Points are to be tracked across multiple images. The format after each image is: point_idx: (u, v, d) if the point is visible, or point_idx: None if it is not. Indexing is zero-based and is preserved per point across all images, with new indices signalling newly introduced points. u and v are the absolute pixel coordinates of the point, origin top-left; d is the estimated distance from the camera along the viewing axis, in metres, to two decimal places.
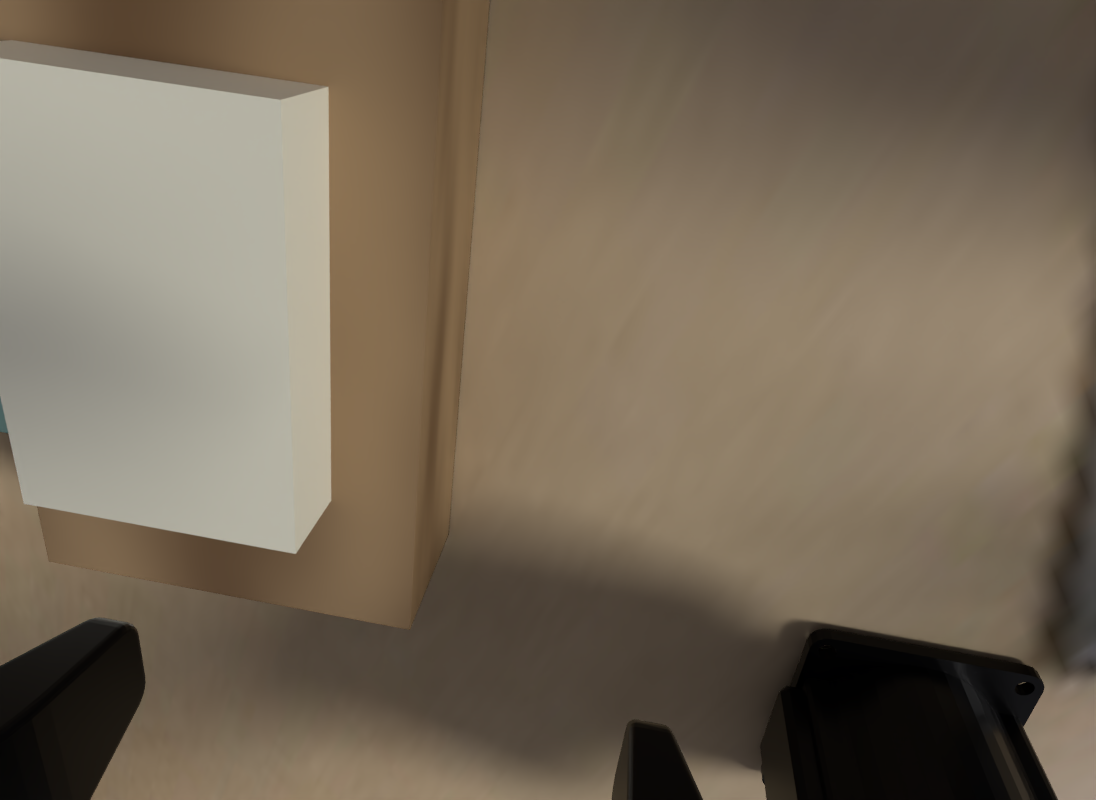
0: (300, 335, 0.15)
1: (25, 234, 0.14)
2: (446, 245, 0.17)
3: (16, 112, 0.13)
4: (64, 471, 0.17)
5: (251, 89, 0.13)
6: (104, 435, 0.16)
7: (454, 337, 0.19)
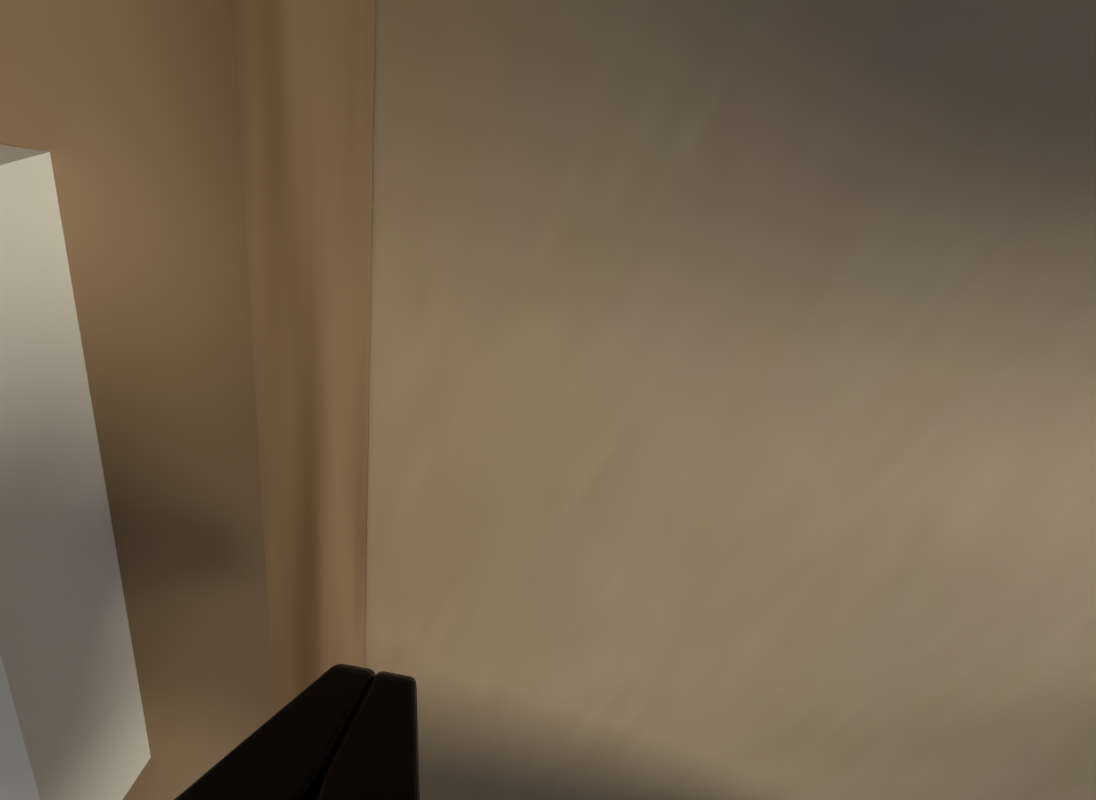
0: (21, 578, 0.09)
1: None
2: (305, 390, 0.11)
3: None
4: None
5: None
6: None
7: (344, 498, 0.13)
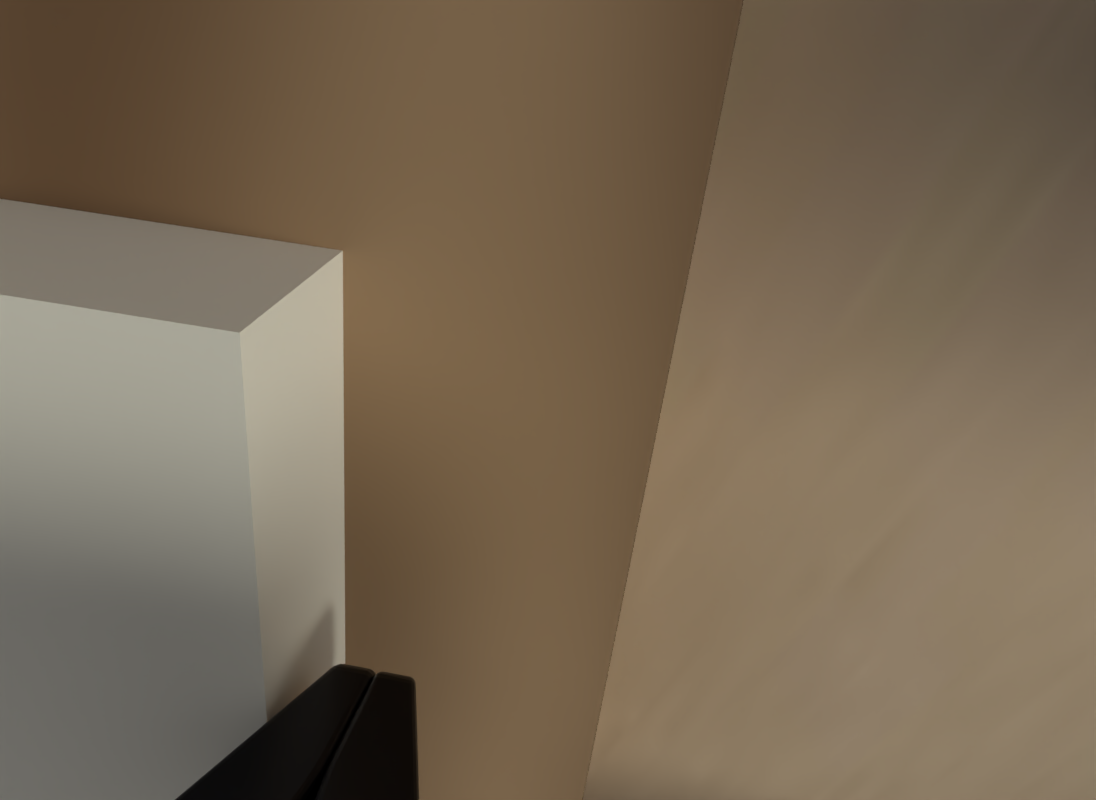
0: None
1: None
2: None
3: None
4: None
5: (180, 289, 0.06)
6: None
7: None
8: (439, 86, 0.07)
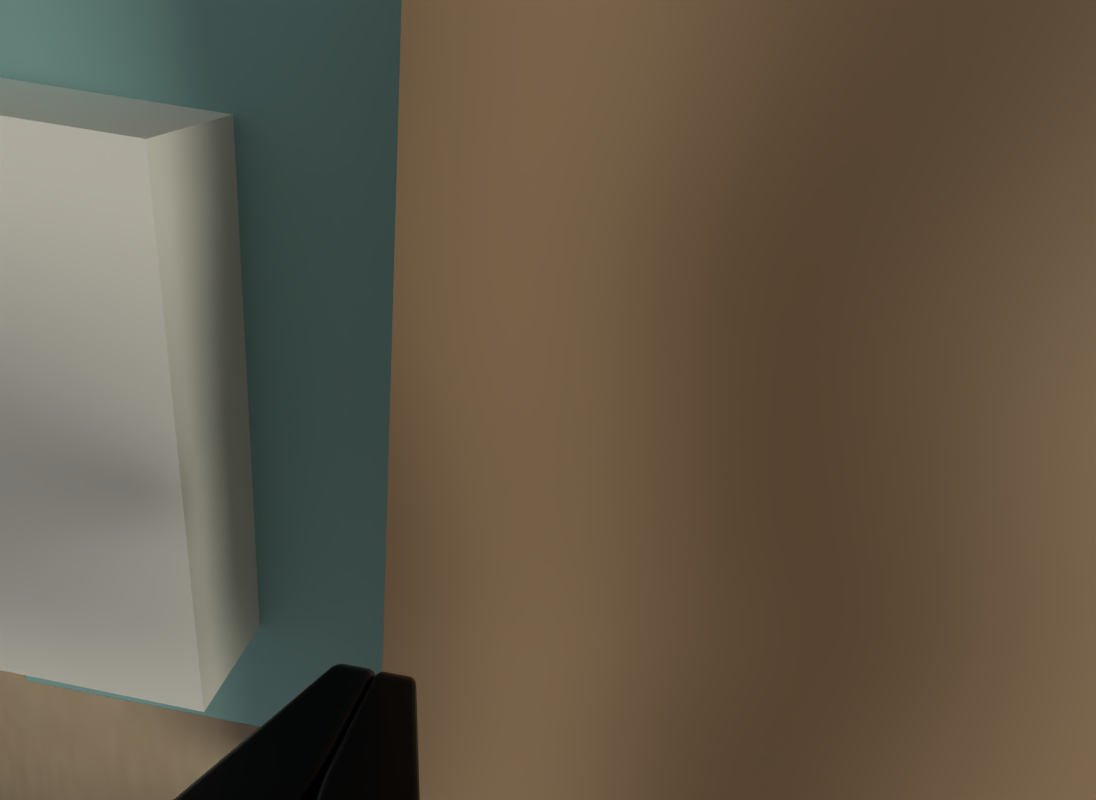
0: None
1: None
2: None
3: None
4: None
5: None
6: None
7: None
8: None
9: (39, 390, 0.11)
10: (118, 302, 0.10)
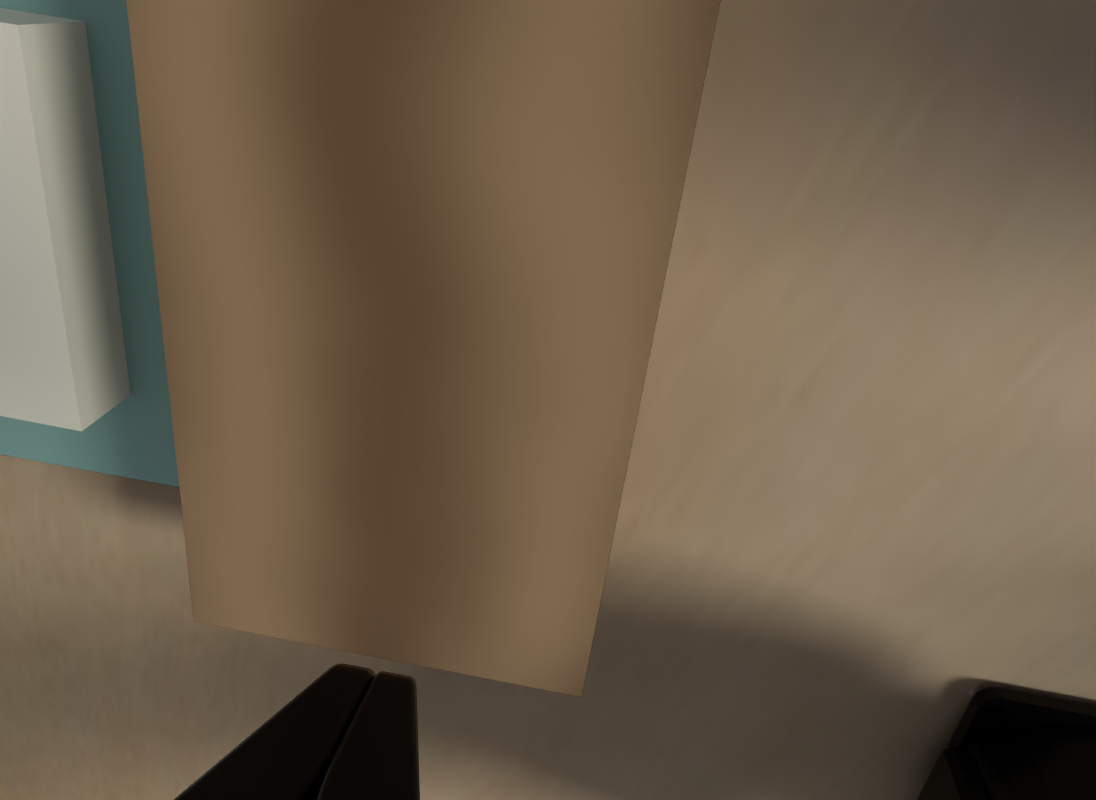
0: None
1: None
2: None
3: None
4: None
5: None
6: None
7: None
8: (563, 40, 0.13)
9: None
10: (7, 129, 0.16)
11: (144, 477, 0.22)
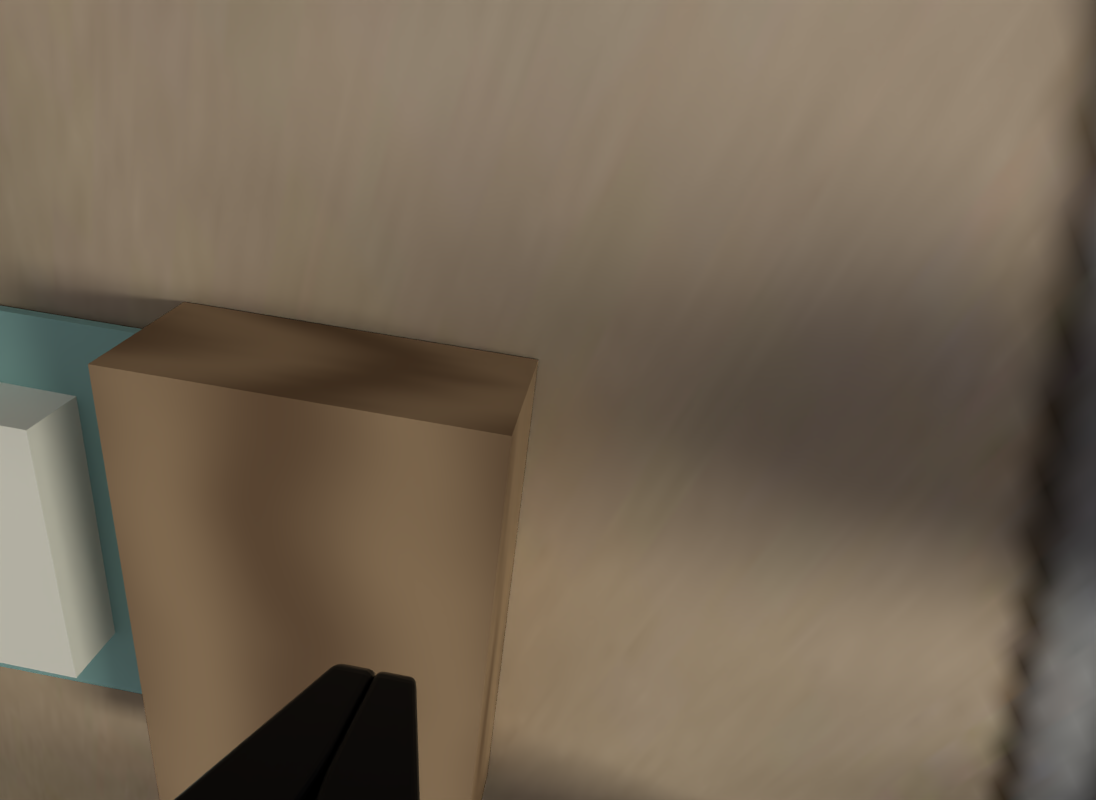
0: None
1: None
2: (497, 621, 0.21)
3: None
4: None
5: None
6: None
7: (498, 656, 0.24)
8: (404, 498, 0.18)
9: None
10: (19, 490, 0.22)
11: (127, 689, 0.28)
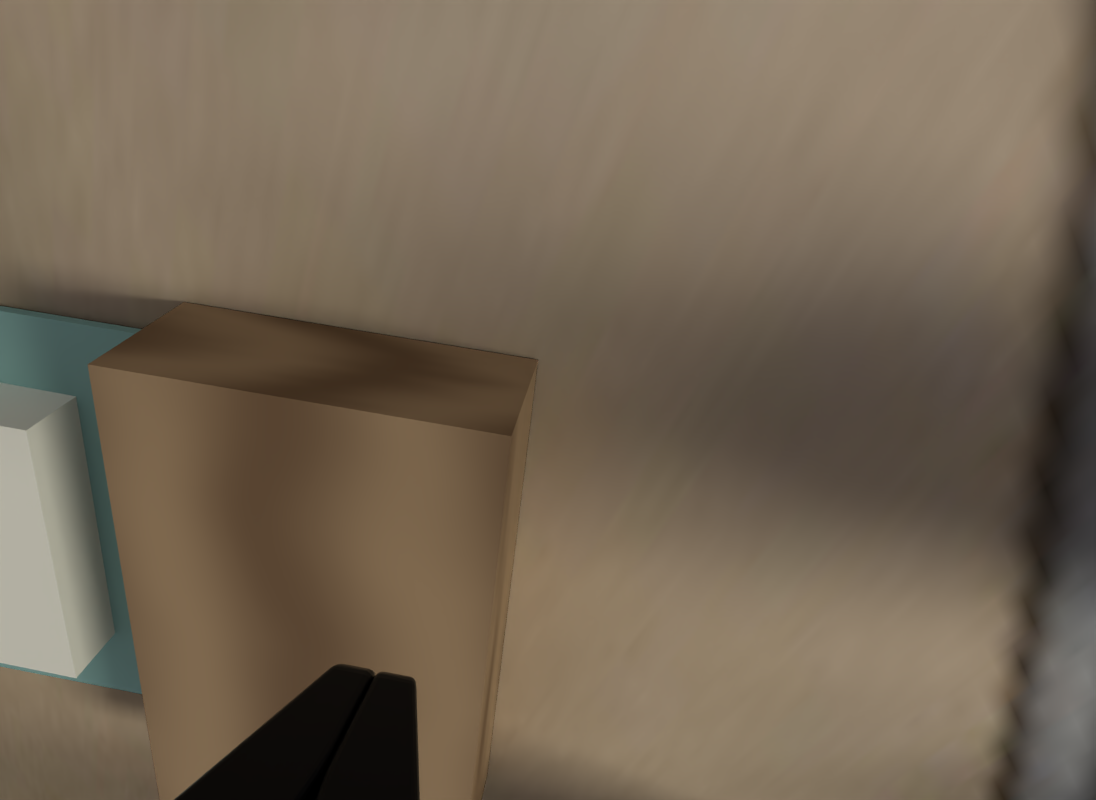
0: None
1: None
2: (496, 621, 0.21)
3: None
4: None
5: None
6: None
7: (498, 656, 0.24)
8: (404, 498, 0.18)
9: None
10: (19, 490, 0.22)
11: (126, 689, 0.28)
